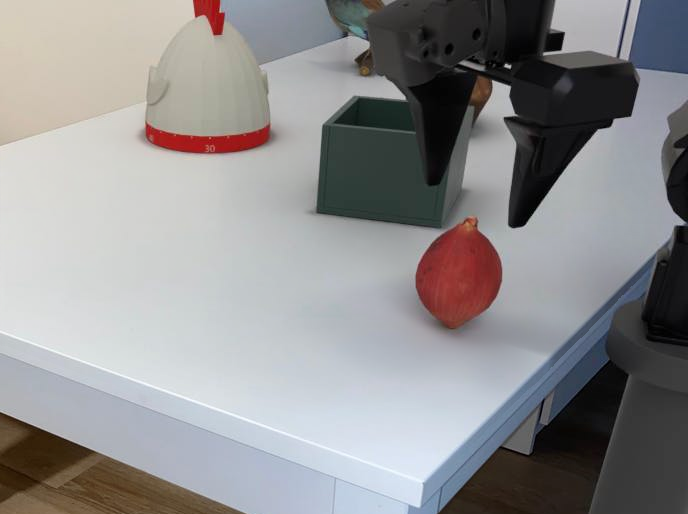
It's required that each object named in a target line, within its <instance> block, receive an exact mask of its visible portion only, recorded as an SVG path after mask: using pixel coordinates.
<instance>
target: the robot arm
mask: <svg viewBox="0 0 688 514" xmlns="http://www.w3.org/2000/svg"><path fill="white" fill-rule="evenodd" d="M556 2H557V0H393V1H392V2H390V3H388V4H385V6H384V7H382V8H380V9H379V10H377V11H375V12H373V13H371V14H370V15H369V16H368V17H367V18H366V20H365V21H366V27H367V32H368V37H369V42H370V43H369V47H371V52H372V58H373V63H374V66H373V69H374V72H375V74H376V75H377V76H378V77H380V78H381V77H384V78H385V79H386V80H387V81H389V82H391V83H392V84H393V85H394V86H395V87H396V88H397V89H398V91H399V92H400V93H401V94H402V95H403V96H404V97H406V98H407V100H408V102H409V105H410V109H411V113H412V118H413V122H414V127H415V132H416V138H417V144H418V150H419V155H420V161H421V167H422V172H423V178H424V183H425V185H426V186H428V187H432V186H438V185H440V183H441V181H442V179H443V176H444V174H445V172H446V169H447V167H448V164H449V162H450V159H451V156H452V153H453V150H454V147H455V144H456V141H457V138H458V135H459V132H460V129H461V126H462V123H463V120H464V117H465V114H466V111H467V108H468V104H469V102H470V99H471V96H472V93H473V90H474V87H475V84H476V81H477V78H478V76H481V77H484V78H487V79H490V80H492V82H493V81H494V82H496V83H499V84H502V85H505V86H508V87H510V88H509V95H508V98H509V100H510V104H511V107H512V109H513V112H514V115H510V116H503V118H502V119H503V122H504V125H505V126H506V127H507V129H508V131H509V132H510V134H511V136H512V138H513V139H514V141H515V153H514V158H513V159H514V160H513V168H512V176H511V184H510V192H509V198H508V208H507V209H508V211H507V225H508V228H511V229H513V230H515V229H519V228H524V227H525V226H526V225H527V224H528V222H529V221H530V220H531V218H532V217H533V215H534V214H535V213H536V211H537V209H539V207H540V206H541V204H542V202H543V201H544V200H545V198H546V197H547V196H548V194H549V193H550V192H551V190H552V188H553V187H554V186H555V185H556V183H557V181H559V178H561V176H562V175H563V173H564V172H565V170H566V169H567V168H568V166H569V165H570V164H571V162H572V161H574V159H576V158H575V157H576V156H577V155H578V154H579V153H580V152H581V151H582V149H583V148H584V147H585V146H586V145H587V144H588V143H589V141H590V140H591V139H592V138H593V137H594V135H595V134H596V133H597V132H598V130H605V129H610V128H611V127H612V126H613V125H614V121H615V120H619V119H625V118H631V117H632V115H633V111H634V107H635V103H636V99H637V95H638V91H639V87H640V82H641V77H640V75H639V73H638V71H637V69H636V67H635V65H634V63H633V62H632V61H630V60H626V59H623V58H620V57H615V56H611V55H608V54H605V53H601V52H598V51H594V50H582V51H575V52H574V51H572V52H563V51H562V50H563V46H564V41H565V36H566V32H565V31H563V30H558V29H555V28H552V24H553V23H552V22H553V17H554V12H555V8H556ZM552 52H553V54H544V53H552ZM554 52H562V53H554ZM506 65H507V66H510V67H506ZM406 98H405V99H406ZM666 121H667V125H668V130H669V133H668V135H667V136H666V138H665V139H664V141H663V144H662V148H661V151H660V161H661V162H660V163H661V172H662V177H663V183H664V187H665V194H666V199H667V201H668V204H669V205H670V207H671V209H672V211H673V213H674V214H675V215H676V216H677V217H679V219H681V221H683V222H685V223H687V224H688V99H687V100H686V101H685V102H684V103H683V104H682V105H681V106H680V107H678V108H677V109H676V110H674V111H673V112H671V113H670V114H668V115H667V117H666ZM643 298H644V299H643V303H642V310H641V319H642V320H643V322H646V335H645V338H646V339H647V340H649V341H652V342H658V343H665V344H672V345H678V346H685V347H688V225H681V224H680V225H679V224H675V225H674V226H673V229H672V233H671V236H670V239H669V243H668V246H667V248H665V247H661V248H660V249H658V250H657V251H656V253H655V257H654V260H653V264H652V268H651V271H650V275H649V278H648V282H647V285H646V289H645V293H644V295H643Z"/></svg>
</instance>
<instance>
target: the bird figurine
mask: <svg viewBox="0 0 688 514" xmlns="http://www.w3.org/2000/svg"><path fill="white" fill-rule="evenodd" d="M324 2H325V5H326V8H327V10H328V13H329V16H330V18H331V20H332V21H333V23H334V25H335V27H337V28H338V29H339V30H341V31H343V32H346V33H349V34H353V35H354V36H356V37H358V38H360V39H361V40H364V41H367V42H369V37H368V32H367V27H366V21H365V20H366V18H367V17H368V16H369V15H370V14H371V13H373V12H375V11H377V10H379V9H380V8H382V7H384V6H386V4H385V3H384V2H383V0H324ZM369 44H370V42H369ZM354 62H355V63H356V64H357V66H359V74H360V75H362V76H363V77H364V76H365V77H366V76H368V75H369V74H370V72H371V71H372V70H373V69H374V63H373V58H372V52H371V47H370V46H369V47H368V48H367V49H366V50H363V52H362V53H360V54H359V55H358V56H356V58H354Z"/></svg>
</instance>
